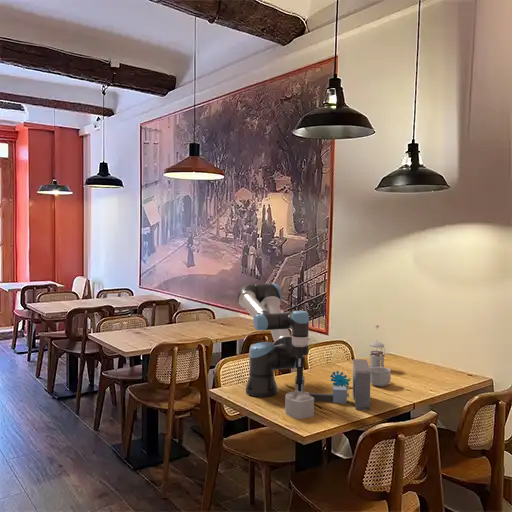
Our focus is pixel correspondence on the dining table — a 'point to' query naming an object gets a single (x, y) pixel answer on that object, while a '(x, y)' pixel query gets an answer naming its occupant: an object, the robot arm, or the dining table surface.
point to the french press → (377, 355)
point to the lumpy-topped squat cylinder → (299, 404)
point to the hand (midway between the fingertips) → (299, 395)
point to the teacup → (380, 376)
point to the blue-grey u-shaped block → (336, 397)
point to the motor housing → (361, 384)
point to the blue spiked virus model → (339, 379)
